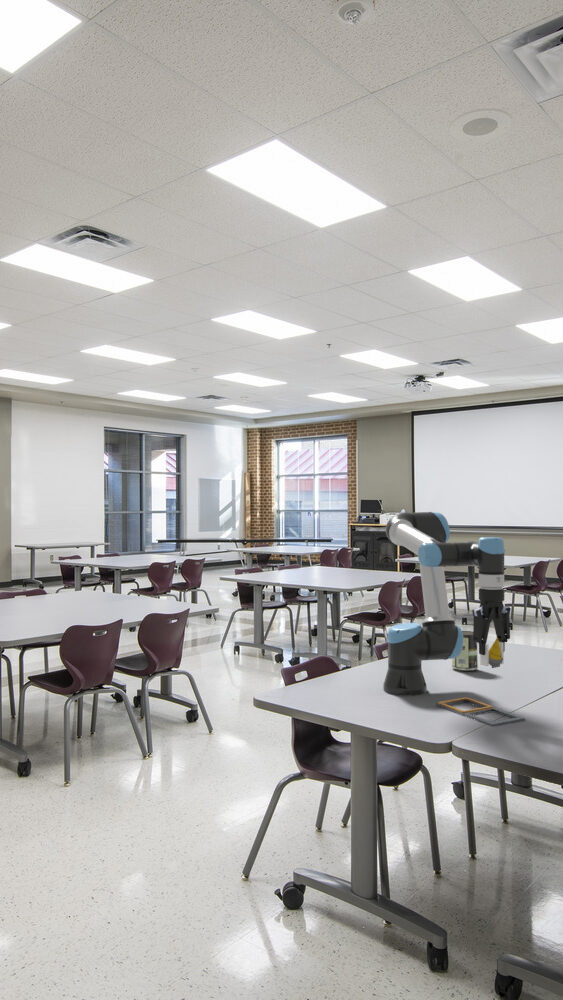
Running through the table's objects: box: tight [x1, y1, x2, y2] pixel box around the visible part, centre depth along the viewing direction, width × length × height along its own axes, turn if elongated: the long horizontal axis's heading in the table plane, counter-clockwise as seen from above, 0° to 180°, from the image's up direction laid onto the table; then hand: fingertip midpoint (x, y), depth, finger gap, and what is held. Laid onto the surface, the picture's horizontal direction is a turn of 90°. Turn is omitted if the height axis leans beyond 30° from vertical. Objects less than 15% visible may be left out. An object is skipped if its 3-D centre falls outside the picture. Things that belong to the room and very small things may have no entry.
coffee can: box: [451, 630, 479, 671], centre depth 273 cm, size 10×10×14 cm
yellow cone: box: [489, 636, 503, 669], centre depth 205 cm, size 5×5×10 cm
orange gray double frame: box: [435, 696, 526, 727], centre depth 211 cm, size 25×13×1 cm, turn 27°
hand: (492, 663), depth 206 cm, fingers closed on yellow cone, 5 cm apart
